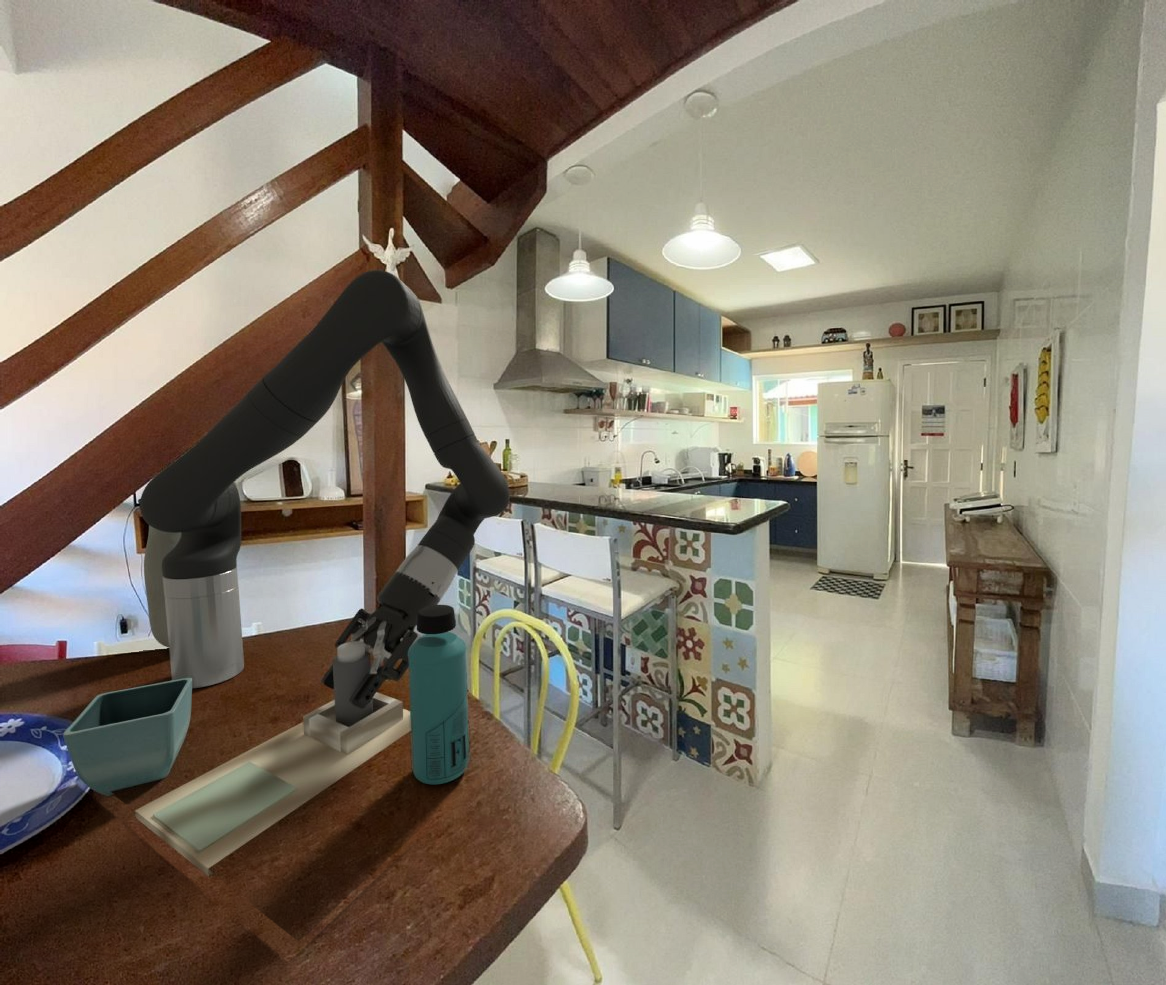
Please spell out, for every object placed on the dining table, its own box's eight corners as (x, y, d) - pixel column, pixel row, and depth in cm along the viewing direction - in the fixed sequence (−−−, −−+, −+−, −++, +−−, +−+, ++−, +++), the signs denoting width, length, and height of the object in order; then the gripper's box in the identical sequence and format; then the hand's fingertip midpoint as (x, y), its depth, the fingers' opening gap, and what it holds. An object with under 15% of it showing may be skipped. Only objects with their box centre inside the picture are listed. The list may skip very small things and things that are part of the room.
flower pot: (69, 817, 49) (59, 734, 48) (105, 765, 57) (97, 693, 56) (179, 789, 53) (172, 712, 52) (199, 744, 61) (193, 676, 60)
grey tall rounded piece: (146, 646, 88) (132, 494, 85) (215, 630, 96) (204, 490, 93) (157, 663, 82) (141, 499, 79) (229, 644, 90) (218, 494, 86)
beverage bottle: (455, 803, 51) (451, 622, 49) (398, 793, 53) (392, 616, 50) (480, 763, 58) (477, 601, 55) (429, 755, 59) (424, 596, 57)
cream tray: (135, 817, 49) (132, 787, 49) (359, 697, 72) (358, 676, 71) (208, 876, 42) (205, 842, 42) (428, 723, 65) (428, 700, 65)
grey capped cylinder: (328, 730, 62) (324, 649, 61) (358, 713, 66) (354, 636, 65) (351, 740, 60) (347, 656, 59) (380, 722, 64) (377, 643, 63)
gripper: (374, 562, 71) (293, 667, 63) (433, 580, 63) (347, 704, 55) (407, 588, 76) (335, 688, 68) (466, 608, 67) (392, 726, 59)
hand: (341, 695), depth 61 cm, fingers open, 7 cm apart
